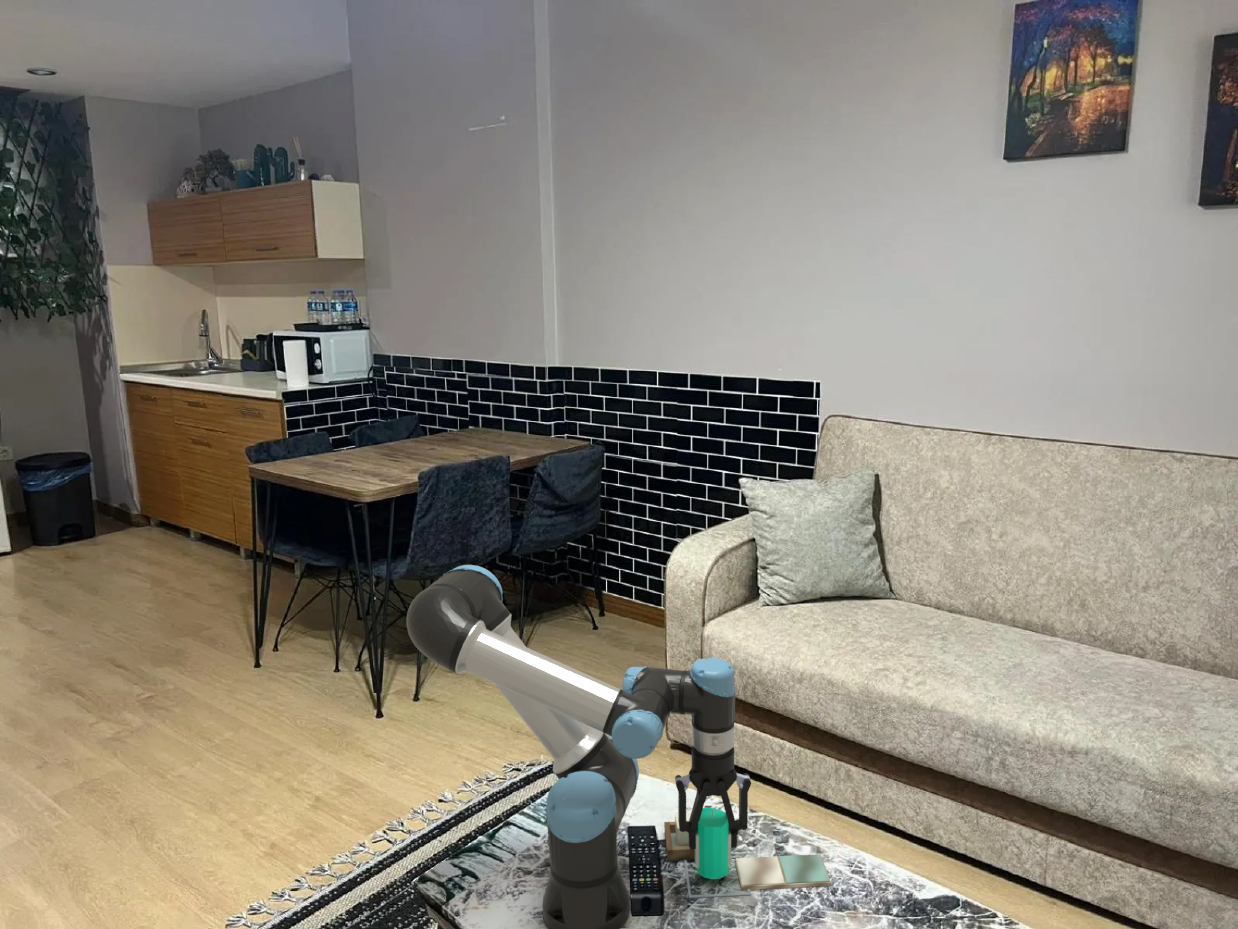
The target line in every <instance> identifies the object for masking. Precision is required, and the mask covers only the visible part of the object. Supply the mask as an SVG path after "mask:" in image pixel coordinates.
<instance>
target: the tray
mask: <svg viewBox="0 0 1238 929" xmlns="http://www.w3.org/2000/svg"><path fill="white" fill-rule="evenodd" d="M663 825H664V827H663V828H664V839H665V840H666V841H665V848H666V849H667V850H666V856H667V858H666V859H667V862H668V861H671V862H684V860H686V861H687V860H689V861H687V862H691V861H690V860H692V861H695V849H690V847H689V846H677V841H676V833H675V821H664V824H663Z"/></svg>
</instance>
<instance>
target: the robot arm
mask: <svg viewBox="0 0 1238 929" xmlns="http://www.w3.org/2000/svg"><path fill="white" fill-rule="evenodd" d="M503 592H504V591H503V588H502V585H501V583H500V581H499V580H498V578H497V577H496V575H495V574H493V573H492V572H491V571H490V570H488V569H487V568H484V567H482V566H479V565H473V564H463V565H459V566H456V567H455V568H453V569H451V570H450V569H449V571H447V572H445V573H443V575H441V576H440V577H439V578H437V580H435V581H434V582H432V583H431V584H430V585H428V587H427V588H425V589H424V590H422V591H421V592H419V593H418V594H417V595H416V596H415V597H414V599H413V600H412V601H411V602H410V605H409V608H408V610H407V614H406V621H405V622H406V628H407V633H408V636H409V638H410V640H411V641H412V644H413V645H414V647H415V648H417V650H419V652H421V654H423V656H425V657H427V659H429V660H430V661H432V662H433V663H434V664H437V665H439V666H440V667H442V668H444V669H446V670H449V671H451V672H453V673H455V674H458V675H460V674H463V673H466V672H468V673H471V674H473V675H475V676H477V677H479V678H481V679H484V680H486V681H488V682H490V683H493V684H494V685H495V686H496V688H497V689H498V690H499V691H500V693H501V694H502V695H503V696H504V697H505V699H506V700H507V701H508V702H509V704H510V706H512V707H513V709H514V710H515V712H516V713H517V714H518V716H519V717H520V718H521V719H522V721H523V722H524V723H525V724H526V726H528V728H529V729H530V730H531V732H532V733H533V734H534V736H535V737H536V739H538V741H539V742H540V743H541V745H542V746H543V747H544V749H546V751H547V752H548V754H549V755H550V756H551V757H552V758H553V766H552V772H553V773H554V775H555V776H556V777H557V779H558V780H557V781H556V782H554V784H553V785H551V788H550V789H549V791H548V794H547V797H546V806H545V818H546V819H545V820H546V822H547V823H546V824H547V837H548V838H547V839H548V851H549V852H548V853H549V864H550V866H549V867H550V874H549V878H548V880H547V884H546V888H545V892H544V894H543V899H542V915H543V916H542V917H543V920H544V923H545V925H546V927H547V928H548V929H621V928H622V927H623V926H624V925H625V924H626V922H627V920H628V919H629V916H630V911H631V905H630V904H631V902H630V901H631V900H630V898H631V897H630V893H629V889H628V887H627V885H626V882H625V881H624V878H623V876H622V874H621V870H620V869H619V859H618V858H619V857H618V838H617V836H618V833H619V828H620V826H621V823H622V820H623V819H624V817H625V814H626V812H627V810H628V807H629V804H630V801H631V800H632V798H633V797H634V795H635V793H636V790H637V787H638V786H637V785H638V781H639V775H640V774H639V773H640V772H639V770H640V768H639V763H638V759H644V758H646V757H648V756H649V755H651V753H652V754H653V751H655V749H656V747H657V746H658V743H659V742H660V741H661V739H662V737H663V734H664V730H665V727H666V725H667V721H668V720H669V718H670V716H671V714H672V715H673V714H674V715H675V714H676V715H684V716H685V715H689V716H691V768H690V770H689V771H688V774H686V775H683V776H682V775H681V774H677V775H675V777H674V779H675V787H676V789H677V794H678V796H677V797H678V798H677V799H678V800H677V802H678V803H677V804H678V805H677V806H678V807H677V808H678V809H677V810H678V812H677V813H678V822H679V829H680V831H681V832H685V831H686V832H688V833H689V847H690V849H695V860H694V864H695V868H699V835H698V833H697V828H698V821H699V820H700V817H701V813H702V809H703V808H704V806H705V803H706V801H707V797H711V796H715V797H716V796H717V797H721V801H722V804H723V807H724V808H723V809H724V812H726V815H727V819H728V823H729V826H730V831H729V834H728V867H729V868H731V867H732V859H731V856H732V849H735V848H737V846H738V835H739V831H741V830H742V831H746V830H747V829H748V827H749V826H748V822H749V821H748V817H749V816H748V815H749V809H748V803H749V802H748V801H749V799H748V797H749V795H748V793H749V791H750V788H751V786H752V781H751V778H750V775H749V773H748V772H744V773H743V774H741V773H738V772H737V771H736V769H735V747H734V746H735V716H736V715H735V714H736V713H735V710H736V709H735V708H736V707H735V706H736V705H735V704H736V686H735V670H734V668H733V666H732V664H731V663H730V662H728V661H727V660H725V659H722V658H717V657H709V658H700V659H697V660H695V661H694V663H692V665H691V669H690V670H681V669H673V668H672V669H671V668H662V667H652V666H647V665H646V666H631V667H628V668H627V670H626V671H625V673H624V676H623V677H624V678H623V681H622V685H621V689H620V688H618V687H616V686H614V685H612V684H609V683H607V682H605V681H603V680H600V679H598V678H596V677H594V676H592V675H589V674H587V673H585V672H582V671H580V670H578V669H575V668H573V667H571V666H569V665H568V664H567V665H566V664H565V663H563V662H561V661H558V660H555V659H553V658H552V657H549V656H547V655H544V654H542V653H540V652H538V651H535V650H533V649H531V648H528V647H527V646H526V645H525V643H524V642H523V641H522V640H521V638H520V637H519V636H518V635H517V634H516V632H515V630H513V628H512V626H511V624H512V623H511V622H512V613H511V612H510V611H509V610H508V608H507V607H506V606H505V605H504V603H503ZM735 782H736V784H737V787H738V819H736V818H735V814H734V812H733V808H732V805H731V801H730V797H729V794H728V791H729V789H731V787H732V786H733V785H734V783H735ZM690 783H691V784H692V785H693V786H694V787H695V789H696V795H695V798H694V801H693V804H692V805H693V806H692V809H691V811H690V812H691V816H690V819H689V821H686V812H687V793H686V791H687V790H688V789H689V787H690V786H689V784H690Z"/></svg>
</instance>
